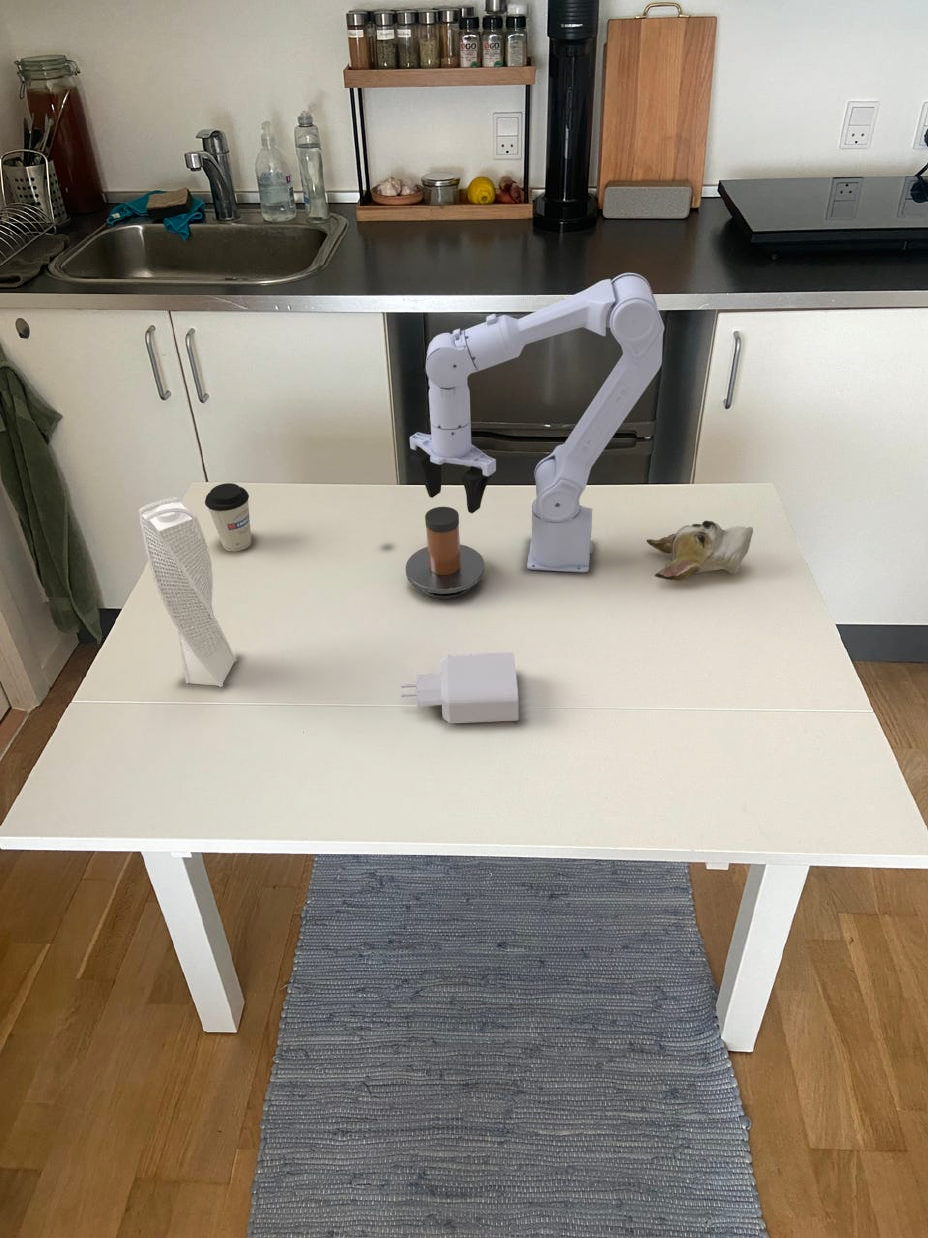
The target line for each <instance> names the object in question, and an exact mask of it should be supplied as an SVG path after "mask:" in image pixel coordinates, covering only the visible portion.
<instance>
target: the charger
mask: <svg viewBox="0 0 928 1238" xmlns="http://www.w3.org/2000/svg"><path fill="white" fill-rule="evenodd" d="M515 659H516V658H515V652H493V653H492V652H491V653H471V654H451V655H449V654H448V655H447V656H446V657H444V658H443V659H442V660H441V661H440V673H428V674H427V673H425V674H417V675H416V683H402V684H401V685H400V688H402V689H404V688H406V689H407V688H408V689H409V688H416V692H401V693H400V697H401V698H408V697H416V706H417V707H431V706H441V714H442V715H441V716H442V719H443V720H445V721H446V722H447V723H449V724H469V723H470V724H471V723H490V722H491V723H493V722H514V721H515V722H516V721H519V690H518V680H517V679H518V678H517V670H516V660H515Z"/></svg>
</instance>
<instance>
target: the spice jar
mask: <svg viewBox="0 0 928 1238" xmlns="http://www.w3.org/2000/svg"><path fill="white" fill-rule="evenodd" d="M424 521H425V531H426V540H427V541H426V542H427V543H426V544H427V547H428V557H429V568H430V570H431V571H432V572H434V573H436V574H439V575H449V574H453V573H455V572H457V571H458V570H459V569H460V567H461V557H460V545H461V541H460V540H461V539H460V538H461V537H460V514H459V512H458V511H457V510H456V509H455V508H453V507H450V506H437V507H433V508H431V509H429V510H428V511H426V513H425V516H424Z"/></svg>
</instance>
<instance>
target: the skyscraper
mask: <svg viewBox="0 0 928 1238" xmlns="http://www.w3.org/2000/svg"><path fill="white" fill-rule="evenodd" d="M168 502H169V503H168ZM155 506H157V507H156V508H153V509H150V508H152V507H155ZM147 509H150V510H147ZM145 510H146V511H145ZM144 511H145V512H144ZM137 513H138V517H139V523H140V528H141V532H142V538H143V543H144V547H145V552H146V557H147V560H148V564H149V569H150V571H151V575H152V578H153V581H154V584H155V587H156V589H157V593H158V594H159V596H160V600H161V601H162V604H163V605H164V608H165V610H166V612H167V614H168V615H169V617H170V619H171V621H172V623H173V624H174V626H175V628H176V630H177V636H178V642H179V649H180V654H181V655H180V656H181V661H182V668H183V674H184V679H185V683H186V684H192V685H193V684H194V685H205V686H218V687H219V688H223V687H224V683H225V680H226V679H227V677H228V675H229V673H230V671H231V669H232V667H233V665H234V664H235V663H236V662H237V658H236V656H235V654H234V652H233V650H232V648H231V646H230V644H229V642H228V640H227V637H226V635H225V633H224V631H223V629H222V628H221V625H220V624H219V622H218V620H217V618H216V615H215V614H214V610H213V604H212V602H213V589H214V588H213V582H214V581H213V580H214V579H213V578H214V577H213V568H212V567H213V566H212V559H211V554H210V550H209V547H208V543H207V540H206V537H205V535H204V532H203V529H202V527H201V524H200V521H199V519H198V516H197V515H196V514H194V513H193V512H191V511H190V510H188V508H187V507H186V506H185V505H183V503H182V502H181V498H180V497H177V496H172V497H167V498H163V499H159V500H156V501H154V502H151V503H148V504H146V505H143V506H142V507H140V508H139V509H138V511H137Z"/></svg>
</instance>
